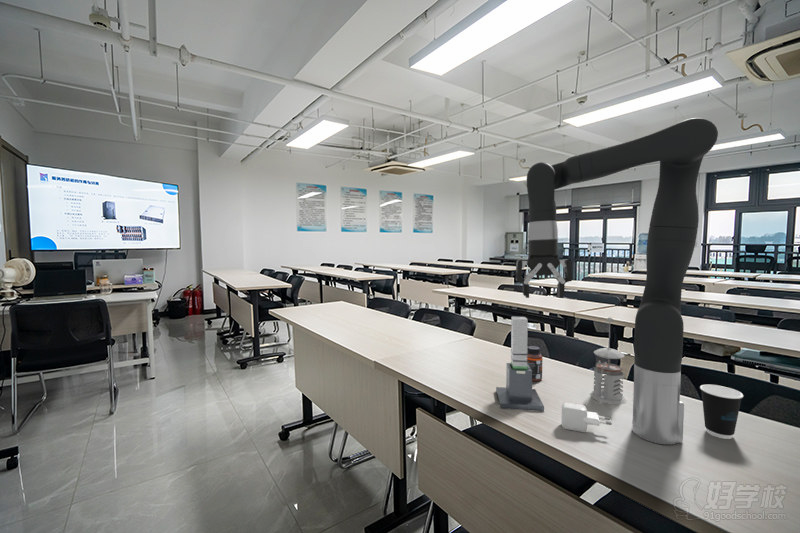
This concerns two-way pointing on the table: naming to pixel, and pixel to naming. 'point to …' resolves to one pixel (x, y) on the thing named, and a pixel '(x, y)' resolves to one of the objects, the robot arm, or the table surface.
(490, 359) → the table surface
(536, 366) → the supplement bottle
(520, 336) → the column
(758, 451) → the table surface
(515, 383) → the stand housing
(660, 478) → the table surface
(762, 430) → the table surface
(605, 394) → the french press
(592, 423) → the power adapter
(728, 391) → the dixie cup
